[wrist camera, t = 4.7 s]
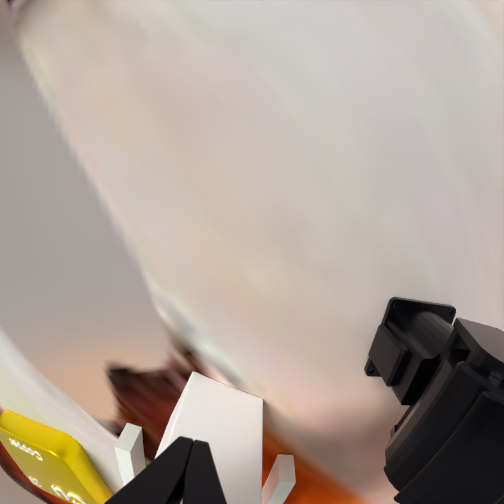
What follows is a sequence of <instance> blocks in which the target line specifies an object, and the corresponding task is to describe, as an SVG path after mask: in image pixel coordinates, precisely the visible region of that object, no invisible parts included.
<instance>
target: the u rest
mask: <svg viewBox="0 0 504 504" xmlns="http://www.w3.org/2000/svg"><path fill="white" fill-rule="evenodd" d="M115 452H116V456H117V461H118V465H119V469H120V473H121V477H122V481H123V485H124V486H125V485H126V484H127V483H128V482H130V481H131V480H132V479H133V478H134V477H135V476H136V475H138V474H139V473H140V472H141V471H142V470H143V469H144V468H145V458H144V449H143V437H142V427H139V426H136V425H133V424H130V423H127V424H126V426H125V428H124V430H123V432H122V434H121V435H120V437H119V439H118V441H117V443H116V445H115ZM295 483H296V478H295V467H294V456H293V455H284V454H278V455H277V457H276V460H275V462H274V464H273V467H272V469H271V471H270V473H269V476H268V478H267V480H266V482H265V484H264V487H263V489H262V504H283V503H284V501H285V500H286V498H287V496H288V495H289V493H290V491H291V490H292V488H293V486H294V485H295Z"/></svg>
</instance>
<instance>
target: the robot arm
mask: <svg viewBox="0 0 504 504" xmlns="http://www.w3.org/2000/svg"><path fill="white" fill-rule="evenodd" d="M396 302H397V305H396V306H395V307H393V305H394V303H396ZM450 311H451V312H450ZM449 312H450V313H449ZM455 313H456V309H455V308H454V307H453V306H451V305H445V304H438V303H432V302H425V301H419V300H412V299H406V298H399V297H393V298H391V299H390V300H389V302H388V305H387V309H386V312H385V315H384V318H383V320H382V323H381V324H380V325H379V327H378V330H377V333H376V335H375V338H374V341H373V344H372V346H371V349H370V351H369V358H368V361H367V363H366V366H365V369H364V371H365V373H366V375H367V376H377V377H382V378H383V380H384V382H385V384H386V385H387V386H388V387H391V388H392V390H393V391H394V393H395V395H396V396H397V398H398V400H399V402H400V403H401V405H409V406H410V407H409V408H408V410H407V411H406V413H405V414H404V416H403V417H402V418H401V420H400V421H399V423H398V424H397V425H395V426H394V427H393V429H392V430H391V440H390V441H389V443H388V445H387V448H386V450H385V456H386V465H385V467H384V471H385V474H386V476H387V478H388V480H389V481H390V483H391V484H392V485H393V486H394V488H395V489H396V490H397V491H399V493H398V494H397V495H396V496H395V497H394V500H395V501H396V502H398V503H400V504H504V332H503V331H501V330H500V329H498V328H494V327H491V326H487V325H483V324H480V323H476V322H472V321H469V320H465V319H461V318H456V320H455V322H454V325H453V326H452V325H451V324H452V322H453V319H454V316H455ZM371 368H373V369H372V370H371V371H369V370H370V369H371ZM182 498H183V499H182ZM181 502H182V504H227V502H226V499H225V496H224V492H223V489H222V486H221V483H220V480H219V476H218V473H217V470H216V466H215V463H214V459H213V456H212V452H211V449H210V445H209V443H208V442H206V441H201V440H193V439H192V438H188V437H184V436H179V437H178V438H177V439H176V440H174V441H173V442H172V443H171V444H170V445H169V446H168V447H167V448H166V449H165V450H164V451H163V452H162V453H161V454H160V455H159V456H157V457H156V458H155V459H154V460H153V461H152V462H151V463H150V464H149V465H148V466H147V467H145V468H144V469H143V470H142V471H141V472H140V473H139V474H138V475H136V476H135V477H134V478H133V479H132V480H131V481H130V482H128V483H127V484H126V485H125V486H124V487H123V488H121V489H120V490H119V491H118V492H117V493H116V494H114V495H113V496H112V497H111V498H110V499H108V500H107V501H106V502H105V504H181Z"/></svg>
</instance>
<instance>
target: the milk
mask: <svg viewBox="0 0 504 504" xmlns="http://www.w3.org/2000/svg"><path fill="white" fill-rule="evenodd" d="M179 436H184V437H188V438H192V439H193V440H201V441H206V442H208V443H209V445H210V449H211V452H212V456H213V459H214V463H215V466H216V470H217V473H218V476H219V480H220V483H221V486H222V489H223V492H224V496H225V499H226V502H227V504H262V439H263V399H261V398H259V397H256V396H253V395H250V394H248V393H245V392H242V391H240V390H237V389H235V388H232V387H230V386H227V385H225V384H222V383H220V382H217V381H215V380H213V379H210V378H208V377H206V376H203V375H201V374H199V373H197V372H192V374H191V376H190V378H189V380H188V382H187V384H186V386H185V389H184V391H183V393H182V395H181V397H180V399H179V401H178V403H177V405H176V407H175V409H174V411H173V413H172V415H171V417H170V420H169V422H168V425H167V428H166V430H165V433H164V435H163V438H162V441H161V443H160V446H159V449H158V451H157V454H156V456H155V458H156V457H157V456H159V455H160V454H161V453H162V452H163V451H164V450H165V449H166V448H167V447H168V446H169V445H170V444H171V443H172V442H173V441H174V440H176V439H177V438H178V437H179ZM182 499H183V498H182ZM181 504H182V502H181Z"/></svg>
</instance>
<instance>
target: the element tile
mask: <svg viewBox="0 0 504 504" xmlns="http://www.w3.org/2000/svg"><path fill="white" fill-rule="evenodd" d="M0 441H1V442H2V444H3V445H4V447H5V448H6V450H7V451H8V453H9V454H10V455H11V457H12V458H13V460H14V461H15V462H16V464H17V465H18V466H19V468H20V469H21V470H22V472H23V473H24V474H25V475H26V477H27V478H28V479H29V480H30V481H31V482H32V484H34V485H35V486H37V487H38V488H40V489H42V490H44V491H46V492H48V493H50V494H52V495H54V496H57V497H59V498H61V499H63V500H65V501H68V502H70V503H72V504H105V502H106V501H107V500H108V499H110V498H111V497H112V493H111V492H110V490H109V489H108V487H107V486H106V484H105V483H104V481H103V480H102V478H101V477H100V475H99V474H98V472H97V471H96V469H95V468H94V466H93V465H92V463H91V461H90V460H89V458H88V456H87V455H86V453H85V451H84V450H83V448H82V446H81V445H80V444H79V443H78V442H77V441H76V440H75V439H74V438H73V437H72V436H70V435H68V434H66V433H64V432H62V431H59V430H56V429H54V428H51V427H48V426H46V425H43V424H40V423H38V422H35V421H33V420H30V419H28V418H26V417H23V416H21V415H19V414H17V413H14V412H12V411H10V410H5V411H4V412H3V413H2V414H1V415H0Z"/></svg>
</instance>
